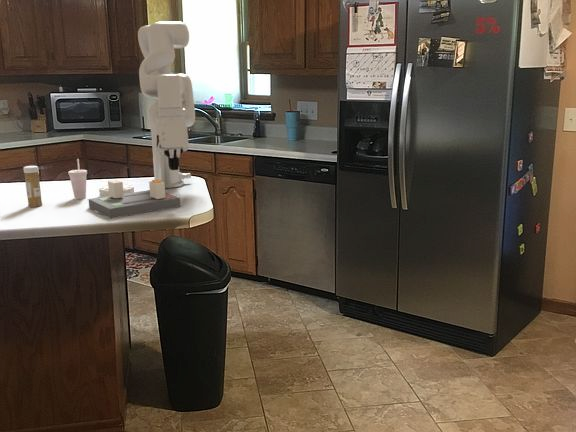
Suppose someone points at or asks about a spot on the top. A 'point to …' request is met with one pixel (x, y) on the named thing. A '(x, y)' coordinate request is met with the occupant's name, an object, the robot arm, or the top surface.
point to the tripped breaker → (157, 189)
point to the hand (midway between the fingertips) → (174, 169)
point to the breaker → (115, 189)
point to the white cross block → (105, 190)
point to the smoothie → (78, 182)
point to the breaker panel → (132, 204)
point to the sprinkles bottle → (32, 186)
